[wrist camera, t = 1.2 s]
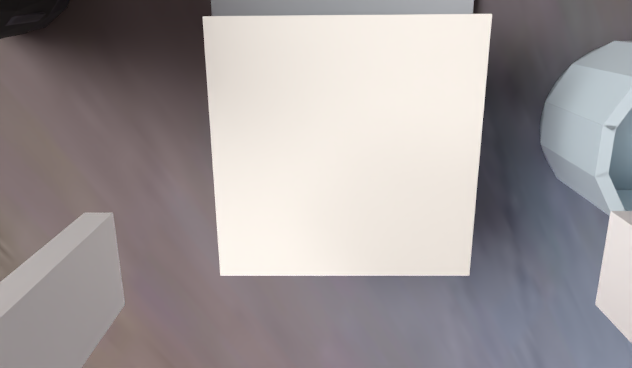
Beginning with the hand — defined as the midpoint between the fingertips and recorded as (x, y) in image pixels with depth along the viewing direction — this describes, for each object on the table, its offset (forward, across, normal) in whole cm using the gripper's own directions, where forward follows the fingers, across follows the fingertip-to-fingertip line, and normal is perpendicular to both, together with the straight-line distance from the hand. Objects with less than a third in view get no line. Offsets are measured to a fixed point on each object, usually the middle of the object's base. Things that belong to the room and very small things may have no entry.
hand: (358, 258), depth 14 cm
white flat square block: (+12, 0, 0) cm, 12 cm away
